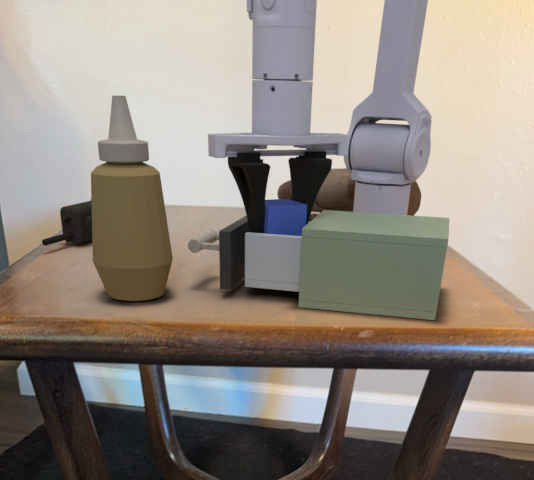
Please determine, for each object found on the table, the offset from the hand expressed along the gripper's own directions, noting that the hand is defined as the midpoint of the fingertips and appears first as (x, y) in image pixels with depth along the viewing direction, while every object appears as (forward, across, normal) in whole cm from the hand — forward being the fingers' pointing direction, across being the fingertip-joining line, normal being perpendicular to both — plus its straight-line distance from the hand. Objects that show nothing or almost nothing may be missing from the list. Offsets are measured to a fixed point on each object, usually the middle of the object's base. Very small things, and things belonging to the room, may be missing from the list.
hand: (278, 233), depth 66 cm
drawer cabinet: (+6, -8, +7) cm, 12 cm away
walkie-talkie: (+3, +10, -36) cm, 38 cm away
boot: (+1, -35, -28) cm, 45 cm away
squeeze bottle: (+6, +15, -3) cm, 16 cm away
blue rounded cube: (+1, 0, 0) cm, 1 cm away
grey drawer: (+5, +1, 0) cm, 5 cm away
